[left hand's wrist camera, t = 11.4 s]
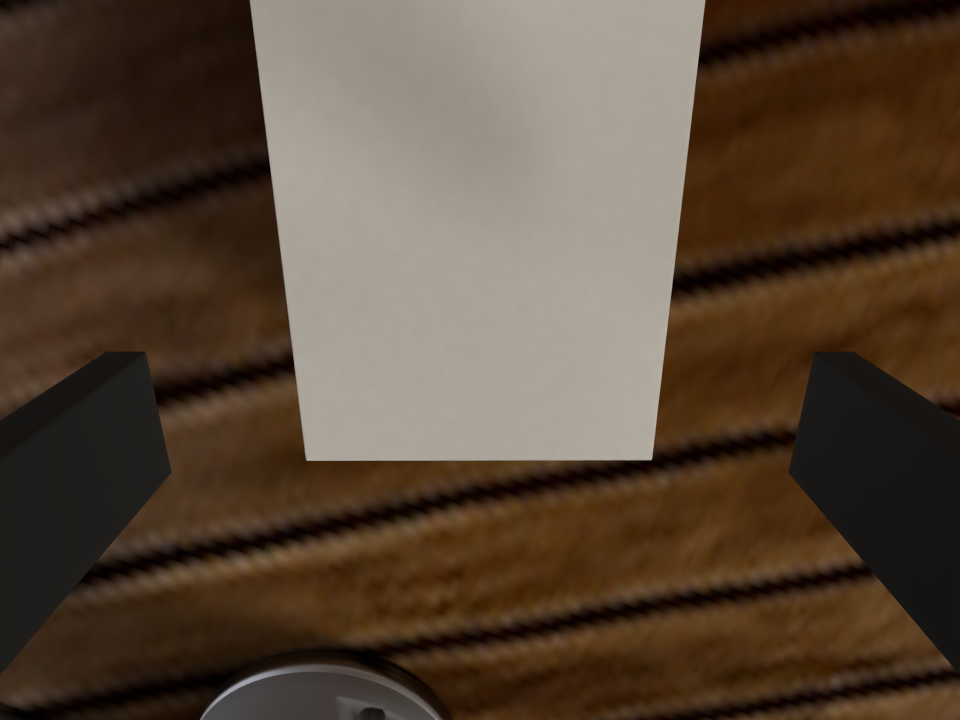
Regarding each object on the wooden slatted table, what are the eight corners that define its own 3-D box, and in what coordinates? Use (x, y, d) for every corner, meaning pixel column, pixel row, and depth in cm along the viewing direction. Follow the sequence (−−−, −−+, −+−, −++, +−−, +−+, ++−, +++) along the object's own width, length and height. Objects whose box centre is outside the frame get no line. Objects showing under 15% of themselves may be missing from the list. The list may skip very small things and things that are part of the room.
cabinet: (312, -212, 20) (195, -436, 12) (643, -213, 20) (756, -438, 12) (358, 355, 28) (305, 461, 19) (600, 355, 28) (652, 461, 19)
